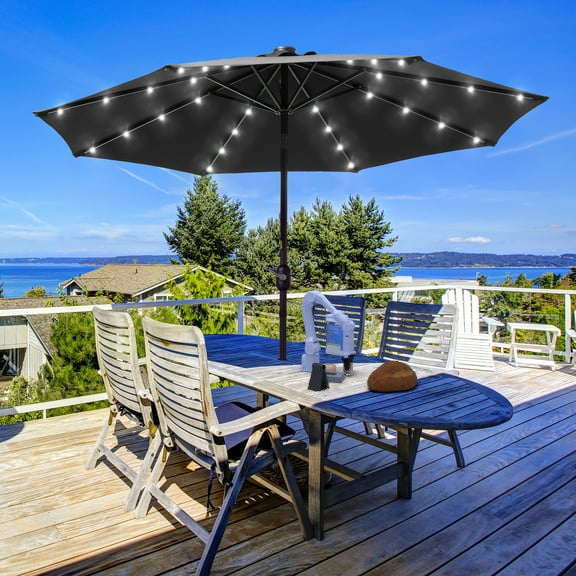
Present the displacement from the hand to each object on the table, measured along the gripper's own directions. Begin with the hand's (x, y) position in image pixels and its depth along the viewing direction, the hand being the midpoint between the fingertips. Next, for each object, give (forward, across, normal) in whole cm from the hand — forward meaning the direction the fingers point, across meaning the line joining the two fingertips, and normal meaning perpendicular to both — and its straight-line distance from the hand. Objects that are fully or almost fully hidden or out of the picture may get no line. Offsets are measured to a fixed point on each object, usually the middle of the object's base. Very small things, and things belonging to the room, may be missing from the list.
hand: (348, 368), depth 248 cm
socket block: (+3, -14, +7) cm, 16 cm away
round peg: (+3, -3, +9) cm, 10 cm away
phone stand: (+3, -33, +8) cm, 34 cm away
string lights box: (+3, +53, +17) cm, 56 cm away
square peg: (+3, 0, 0) cm, 3 cm away
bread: (+4, -17, -25) cm, 30 cm away
